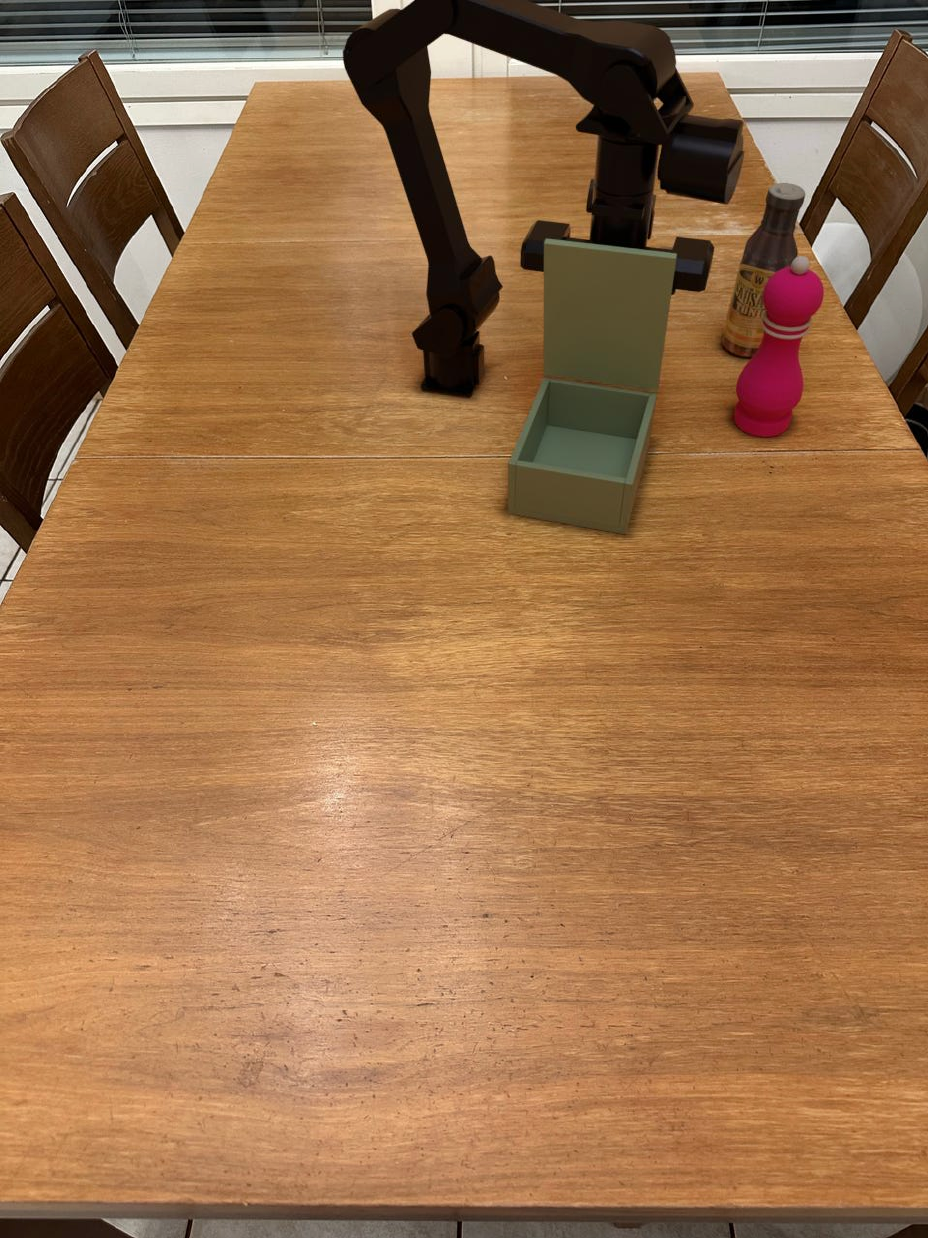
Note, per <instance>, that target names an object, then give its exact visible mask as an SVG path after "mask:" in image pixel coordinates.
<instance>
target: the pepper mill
mask: <svg viewBox="0 0 928 1238" xmlns="http://www.w3.org/2000/svg"><path fill="white" fill-rule="evenodd" d="M810 266H811V262H810V260H809V258H808V257H806V256H804V255H799V256H798V255H797V257H796V258H795V259H794V260H793V261H792V264H791V267H787V268H783V269H781V270H779V271H777V272H776V273H774V274H773V275H772V276H771V277H770V278H769V280H768V281H767V283H766V285H765V287H764V291H763V296H762V300H763V304H764V307H765V309H766V310H765V311H764V312H763V319H762V321H761V327H762V329H763V330H764V334H763V338H762V342H761V344H760V346H759V348H758V350H757V352H756V353H755V354H754V356H753V357H750V359H749V361H748V362H747V363H746V364H745V366H744V367H743V368H742V370H741V372H740V374H739V376H738V378H737V381H736V383H735V394H736V397H737V399H738V400H737V402H736V404H735V409H734V413H733V421H734V423H735V425H736V426H737V427H738V428H739V429H740V430H741V431H743V432H744V433H746V434H749V435H751V436H755V437H764V438H769V437H770V438H771V437H776V436H778V435H781V434H783V433H784V432H785V431H786V430H787V429H788V428H789V426H790V423H791V419H792V416H793V409H795V408H796V407H797V406H798V404H799V403H800V401H801V399H802V397H803V390H804V375H803V372H802V367H801V365H800V364H801V363H800V359H799V357H800V356H799V351H800V348H801V347H800V346H801V342H802V340H803V337H805V336H806V335H807V334H808V333H809V332H810V330H811V329H810V328H811V324H812V322H813V316H814V315H815V314H816V313H817V312H818V311H819V310H820V308H821V307H822V304H823V301H824V295H825V289H824V284H823V282H822V279H821V277H820V276H819V275H818V274H817V273H815V272H814V271H813V270H811V269H810Z"/></svg>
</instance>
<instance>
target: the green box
mask: <svg viewBox="0 0 928 1238" xmlns="http://www.w3.org/2000/svg"><path fill="white" fill-rule="evenodd" d="M536 392H537V393H536V395H535V397H534V399H533V402H532V405H531V407H530V409H529V412H528V414H527V417H526V419H525V422H524V424H523V427H522V429H521V432H520V434H519V437H518V439H517V441H516V443H515V446H514V448H513V450H512V453H511V456H510V458H509V461H508V464H507V514H508V515H514V516H518V517H519V516H520V517H524V518H526V517H527V518H529V519H530V518H531V519H536V520H541V521H548V522H552V523H559V524H564V525H570V526H575V527H581V528H588V529H593V530H597V531H604V532H608V533H615V534H621V535H626V534H627V531H628V528H629V525H630V520H631V516H632V514H633V513H632V512H633V508H634V505H635V501H636V497H637V494H638V491H639V487H640V486H639V485H640V483H641V480H642V479H641V478H642V476H643V470H644V467H645V463H646V460H647V456H648V453H649V448H650V445H651V438H652V433H653V425H654V419H655V412H656V405H657V398H658V393H657V392H656V391H649V390H642V389H635V388H628V387H621V386H614V385H608V384H601V383H594V382H587V381H580V380H573V379H566V378H560V377H552V376H546V375H543V378H542V380H541V383H540V385H539V387H538V390H537V391H536Z"/></svg>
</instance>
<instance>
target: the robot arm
mask: <svg viewBox="0 0 928 1238" xmlns="http://www.w3.org/2000/svg"><path fill="white" fill-rule="evenodd" d="M444 35H449V36H452V37H454V38H457V39H459V40H463V41H465V42H468V43H470V44H473V45H476V46H478V47H481V48H483V49H486V50H488V51H491V52H495V53H496V54H499V55H502V56H505V57H507V58H510V59H513V60H515V61H519V62H521V63H524V64H526V65H529V66H531V67H534V68H537V69H539V70H542V71H545V72H547V73H550V74H552V75H555V76H557V77H559V78H561V79H562V80H564V81H566V82H567V83H568V84H570V86H571V87H572V88H573V89H574V91H576V93H577V94H578V95H579V96H580V97H581V98H582V99H583V100H584V101H586V102H588V103H590V104H591V105H592V108H591V110H589V111H588V113H586V114H585V115H584V116H583V117H582V118H581V119H580V120H579V121H578V122H577V123H576V125H575V131H576V132H578V133H582V134H588V135H594V136H597V141H596V152H595V153H596V155H595V164H594V165H595V167H594V177H593V178H592V179H590V183H589V187H588V193H587V196H586V197H587V198H586V205H585V211H586V213H587V214H590V227H589V238H588V239H586V238H581V237H580V238H579V237H571V230H572V229H571V224H570V223H565V222H557V221H550V220H541V219H537V220H536V221H535V222H534V223H533V224H532V225H531V226H530V228H529V230H528V232H527V233H526V235H525V237H524V239H523V240H522V243H521V247H520V261H519V267H520V268H522V269H523V270H525V271H532V272H541V273H544V242H545V239H555V240H564V241H573V242H581V243H590V244H599V245H607V246H616V247H625V248H634V249H642V250H651V251H660V252H668V253H677V258H676V265H675V272H674V279H673V287H672V294H671V296H674V295H675V294H676V290H679V291H687V292H694V293H700V292H704V291H706V288H707V285H708V280H709V277H710V272H711V269H712V265H713V259H714V253H715V246H714V244H713V242H712V241H711V240H710V239H701V238H694V237H693V238H692V237H685V236H678V235H677V236H675V240H674V242H673V245H672V246H666V245H665V246H664V245H663V246H660V247H653V246H648V240H649V241H650V240H651V238H652V236H653V227H654V220H655V215H656V213H655V207H656V200H657V194H654V191H655V183H656V175H657V180H658V181H659V189H660V190H662V191H665V193H666V194H667V195H671V196H677V197H682V198H687V199H693V200H698V201H703V202H710V203H715V204H720V205H728V204H730V202H731V201H732V198H733V196H734V194H735V191H736V189H737V185H738V182H739V179H740V175H741V172H742V167H743V163H744V160H745V159H744V158H745V153H746V152H745V150H744V136H743V129H744V121H743V120H742V119H736V118H713V117H707V116H702V115H701V116H700V115H694V114H690V112H692V110H693V109H694V108H695V107H694V106H695V104H694V102H693V99H692V97H691V95H690V93H689V91H688V89H687V87H686V84H685V83H684V81H683V79H682V76H681V74H680V73H679V71H678V68H677V67H676V66H677V58H676V57H677V56H676V51H675V48H674V46H673V43H672V41H671V37H670V36H669V34H668V33H667V32H666V31H664V30H663V29H661V28H660V27H658V26H655V25H651V24H645V23H637V22H631V21H623V20H605V21H604V20H603V21H602V20H601V21H590V20H585V19H579V18H577V17H574V16H571V15H568V14H565V13H562V12H560V11H557V10H555V9H552V8H549V7H546V6H543V5H541V4H538V3H535V2H533V1H530V0H413V1H411V2H410V3H408V4H407V5H406V6H405V7H403V8H402V9H401V8H389V9H387V10H385V11H384V12H382V13H380V14H378V15H377V16H376V17H374V18H372V19H370V20H369V21H367V22H366V23H364V24H363V25H361V26H360V27H358V28H357V29H355V30H353V31H352V32H351V33H350V34H349V35H348V37H347V39H346V42H345V45H344V49H343V50H342V62H343V67H344V70H345V72H346V74H347V77H348V78H349V81H350V83H351V85H352V87H353V90H354V91H355V93H356V95H357V98H358V99H359V101H360V103H361V105H362V107H364V108H365V109H366V111H368V112H369V113H370V114H371V116H373V118H374V119H376V121H377V122H378V123H379V124H380V125H381V127H382V128H383V131H384V132H385V135H386V139H387V141H388V144H389V148H390V150H391V154H392V157H393V159H394V163H395V166H396V169H397V172H398V175H399V178H400V181H401V184H402V187H403V190H404V193H405V196H406V199H407V202H408V205H409V208H410V211H411V214H412V218H413V220H414V224H415V227H416V229H417V232H418V235H419V239H420V241H421V244H422V247H423V251H424V253H425V256H426V260H427V277H426V289H425V290H426V291H425V295H426V301H427V307H428V312H429V314H428V315H427V316H426V317H425V318H424V319H423V320H422V321H421V322H420V323H419V324H418V325H417V327H416V328H415V329H414V330H413V331H412V332H411V335H412V338H413V341H414V344H415V346H416V348H417V349H418V350H419V351H422V357H423V370H424V372H423V373H424V378H423V379H422V382H421V383H420V384H419V385H420V386H419V387H420V390H421V391H423V392H431V393H437V394H442V395H443V394H444V395H449V396H450V395H451V396H455V397H463V398H471V397H472V396H473V394H474V392H475V390H476V388H477V386H479V385H480V384H481V381H482V380H483V377H484V375H485V346H484V344H482V343H481V335H480V330H479V329H481V327H482V326H483V325H484V324H485V322H486V321H487V320H488V319H489V318H490V316H491V315H492V314H493V313H494V312H495V310H496V308H497V307H498V305H499V303H500V299H501V297H500V296H501V295H500V291H501V290H502V289H503V287H504V286H503V284H502V282H500V281H501V280H499V277H498V275H497V271H496V264H495V260H494V257H493V255H491V254H490V255H486V256H483V257H481V256H480V255H479V254H478V252H476V251H475V249H473V248H472V246H471V245H470V242H469V240H468V236H467V233H466V230H465V229H466V228H465V226H464V223H463V219H462V216H461V212H460V209H459V206H458V202H457V200H456V195H455V193H454V188H453V186H452V183H451V182H452V181H451V179H450V175H449V173H448V172H449V171H448V169H447V165H446V162H445V158H444V156H443V155H444V154H443V153H442V152H443V151H442V149H441V146H440V142H439V139H438V136H437V131H436V129H435V125H434V122H433V119H432V116H431V111H430V98H431V97H430V94H431V84H432V83H431V80H432V67H431V62H430V54H429V47H428V46H430V45H431V44H432V43H434V42H435V41H437V40H438V39H439V38H440V37H442V36H444ZM657 99H658V100H659V101H660V102H661V103H662V105H661V106H660V107H659V108H657V106H656V103H655V101H656V100H657ZM659 151H660V153H659Z"/></svg>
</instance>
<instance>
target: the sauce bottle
mask: <svg viewBox="0 0 928 1238" xmlns="http://www.w3.org/2000/svg"><path fill="white" fill-rule="evenodd" d="M805 198H806V190H805V189H803V188H802V187H801V186H800V185H797V184H794V183H790V182H778V183H773V184H771V186H769V188H768V190H767V193H766V197H765V207H764V208H765V209H764V213H763V215H762V220H761V221H760V225H758V227H757V229H755V231H753V233H752V234H751V235H750V236H749V237H748V239H747V240H746V242H745V246H744V250H743V253H742V257H741V261H740V263H739V265H738V270H737V273H736V278H735V282H734V285H733V290H732V293H731V298H730V301H729V306H728V309H727V313H726V318H725V320H724V321H725V322H724V325H723V333H722V339H721V342H722V345H723V347H724V348H725V349H726V351H728V352H729V353H731V354H733V355H734V356H738V357H743V358H744V357H746V358H752V357H753V356H754V354H755V353H756V352H757V350H758V348H759V346H760V344H761V342H762V338H763V334H764V330H763V329H762V327H761V321H762V319H763V312H764V311H765V310H766V309H765V307H764V304H763V300H762V296H763V291H764V287H765V285H766V283H767V281H768V280H769V278H770V277H771V276H772V275H773V274H774V273H776V272H777V271H779V270H781V269H783V268H787V267H791V264H792V261H793V260H794V259H795V258H796V257H798V255H799V252H798V251H799V250H798V247H797V246H798V245H797V242H796V240H795V236H794V234H795V231H796V224H797V220H798V217H799V213H800V209H801V208H802V207H803V205H804V202H805Z"/></svg>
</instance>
